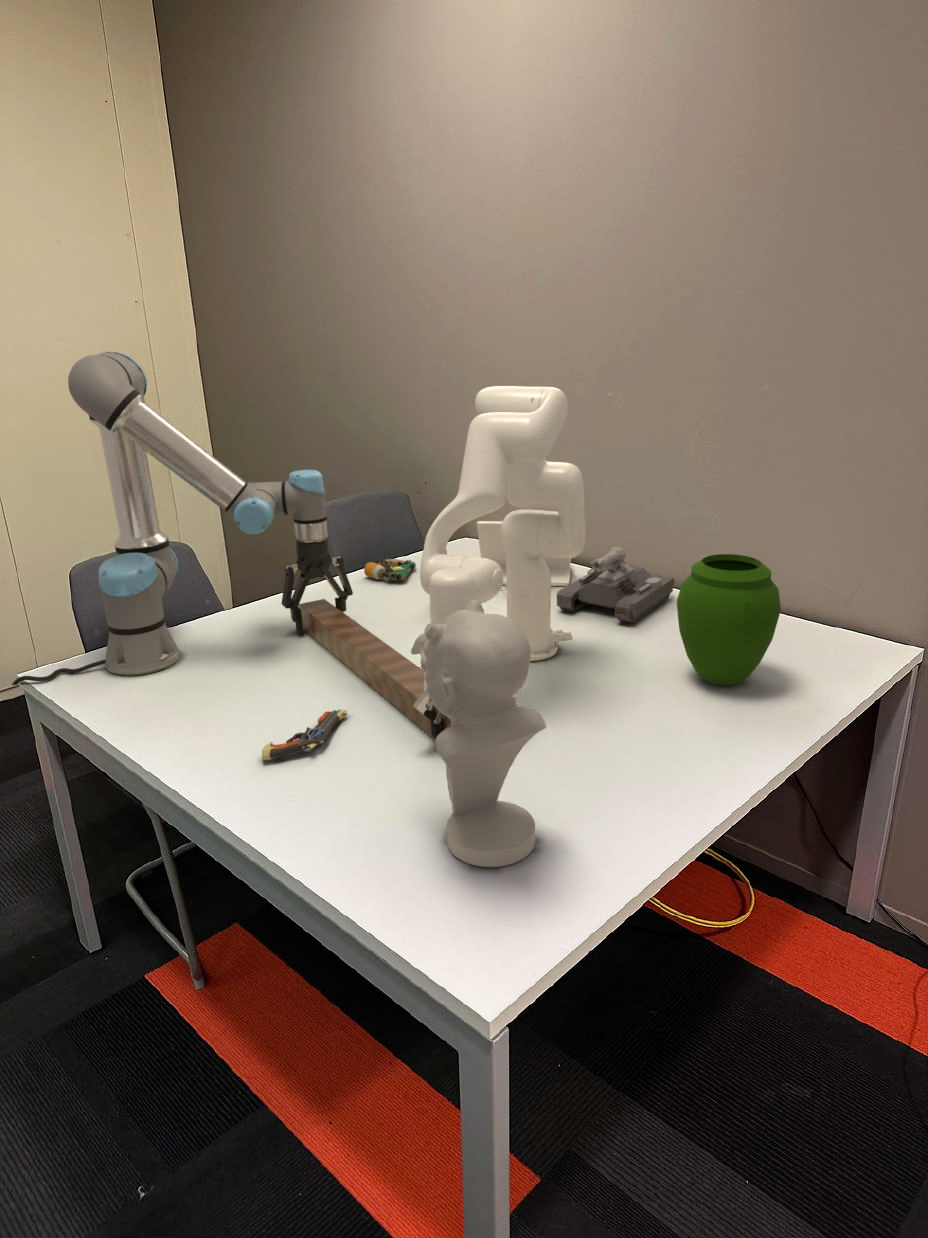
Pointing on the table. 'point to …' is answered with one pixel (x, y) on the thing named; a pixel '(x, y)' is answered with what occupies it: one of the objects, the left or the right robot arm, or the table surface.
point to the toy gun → (305, 737)
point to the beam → (369, 659)
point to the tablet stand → (495, 551)
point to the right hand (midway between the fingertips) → (457, 734)
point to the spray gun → (389, 569)
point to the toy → (616, 588)
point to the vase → (727, 616)
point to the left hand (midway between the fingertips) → (320, 629)
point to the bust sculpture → (481, 729)
